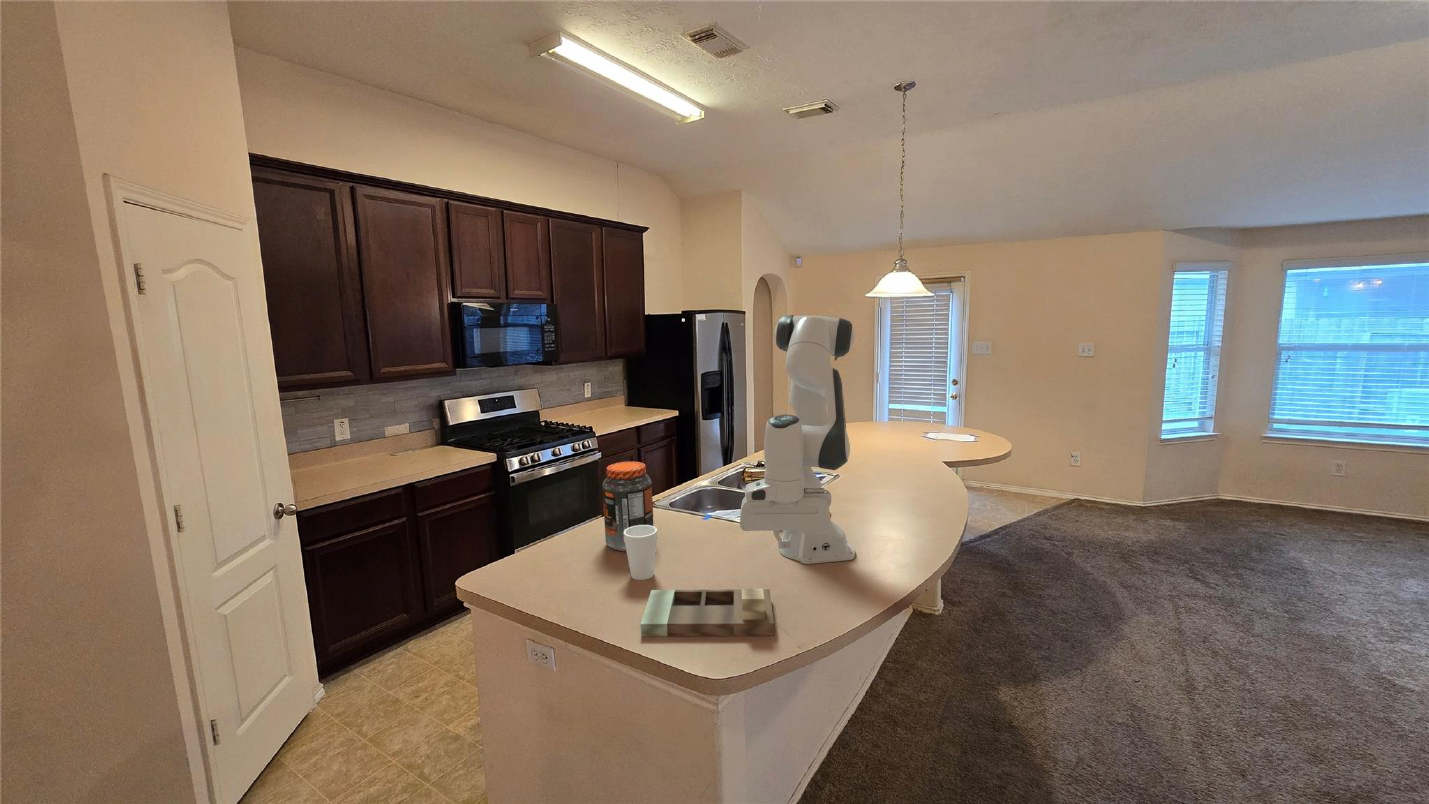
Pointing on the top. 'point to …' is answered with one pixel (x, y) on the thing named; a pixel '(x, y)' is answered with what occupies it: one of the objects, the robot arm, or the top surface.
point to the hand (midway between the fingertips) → (784, 547)
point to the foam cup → (641, 550)
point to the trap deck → (702, 614)
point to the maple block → (753, 604)
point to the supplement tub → (626, 501)
